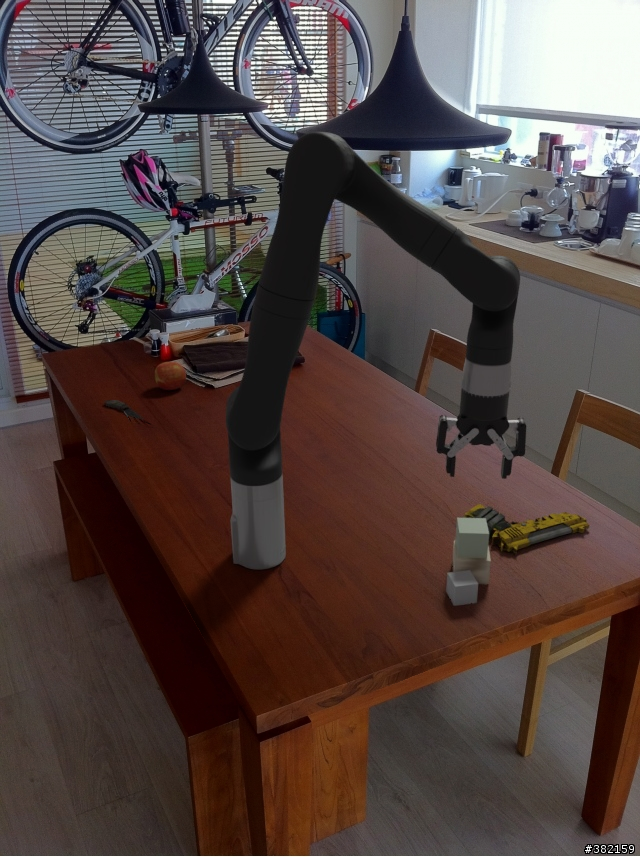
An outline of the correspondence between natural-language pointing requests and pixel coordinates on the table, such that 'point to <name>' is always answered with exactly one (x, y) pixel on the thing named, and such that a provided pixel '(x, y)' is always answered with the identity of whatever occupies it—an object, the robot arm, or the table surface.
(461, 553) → the green cube
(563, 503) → the table surface
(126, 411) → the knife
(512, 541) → the toy gun
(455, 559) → the maple block
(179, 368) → the apple
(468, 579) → the grey block
